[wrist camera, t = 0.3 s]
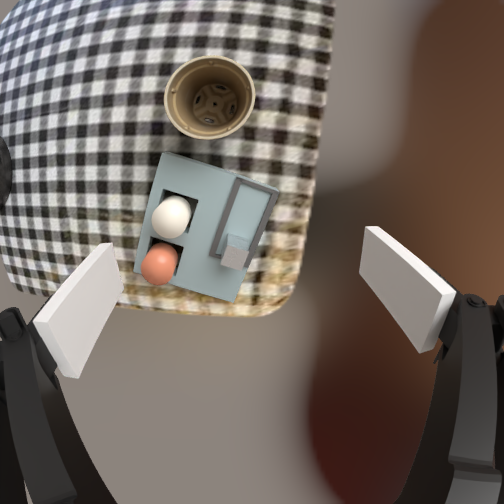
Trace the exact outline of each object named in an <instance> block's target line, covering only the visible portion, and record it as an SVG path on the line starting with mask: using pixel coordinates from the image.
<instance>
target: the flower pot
mask: <svg viewBox="0 0 504 504" xmlns="http://www.w3.org/2000/svg"><path fill="white" fill-rule="evenodd" d="M216 86H223V87H225V90H223V89H220V88H216ZM199 96H200V99H199V102H198V103H196V101H197V98H198V97H199ZM254 102H255V88H254V84H253V81H252V79H251V77H250V75H249V74H248V72H247V71H246V70H245V69H244V67H242V66H241V65H240V64H239V63H237V62H235V61H234V60H231V59H229V58H226V57H222V56H214V55H213V56H202V57H198V58H195V59H192V60H190V61H188V62H186V63H185V64H183V65H182V66H180V67H179V68H178V69H177V70H176V71H175V72H174V73H173V75H172V76H171V78H170V79H169V81H168V83H167V86H166V89H165V94H164V106H165V111H166V114H167V116H168V118H169V120H170V121H171V122H172V124H173V125H174V126H175V127H176V128H177V129H178V130H179V131H181V132H182V133H184V134H186V135H188V136H190V137H193V138H196V139H202V140H212V139H218V138H222V137H225V136H227V135H229V134H231V133H233V132H235V131H236V130H237V129H239V128H240V127H241V126H242V125H243V124H244V123H245V122H246V120H247V119H248V117H249V116H250V114H251V112H252V109H253V106H254ZM213 103H216V105H213ZM232 105H234V111H233V113H232V114H230V110H231V108H232ZM205 118H208V119H211V120H214V122H213V123H209V122H207V121H205Z"/></svg>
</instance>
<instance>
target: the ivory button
mask: <svg viewBox="0 0 504 504" xmlns="http://www.w3.org/2000/svg"><path fill="white" fill-rule="evenodd" d="M191 214H192V210H191V206H190V204H189V203H188V201H187V200H186V199H184V198H182V197H180V196H170V197H168V198H166V199H165V200H164V201H163V202H162V203H161V204H160V205H159V206H158V207H157V208H156V209H155V210H154V212H153V214H152V219H151V221H152V226H153V228H154V230H155V231H156V233H157V234H159V235H160V236H162V237H164V238H169V239H171V238H176V237H178V236H180V235H181V234H182V233H183V232H184V231H185V229H186V227H187V224H188V222H189V220H190V218H191Z"/></svg>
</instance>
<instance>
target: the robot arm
mask: <svg viewBox="0 0 504 504" xmlns="http://www.w3.org/2000/svg"><path fill="white" fill-rule="evenodd" d="M11 183H12V163H11V157H10V153H9V150H8V147H7V145H6V143H5V141H4V140H3V139H2V138H1V137H0V208H1V207H2V206H3V205H4V204H5V202H6V200H7V198H8V196H9V193H10V189H11ZM359 274H360V275H361V276H362V277H363V278H364V279H365V281H366V282H367V283H368V285H369V286H370V287H371V289H372V290H373V291H374V292H375V294H376V295H377V296H378V298H379V299H380V300H381V301H382V303H383V304H384V305H385V307H386V308H387V309H388V311H389V312H390V313H391V315H392V316H393V317H394V319H395V320H396V321H397V323H398V324H399V325H400V327H401V328H402V329H403V331H404V332H405V334H406V335H407V336H408V338H409V339H410V341H411V342H412V343H413V345H414V346H415V348H416V349H417V350H418V352H419V353H422V352H425V351H428V350H431V349H433V348H434V346H435V344H436V342H437V339H438V337H439V338H440V340H441V341H442V342H443V344H442V346H441V348H440V350H439V352H438V354H437V356H436V358H435V360H434V362H433V363H434V364H435V363H436V361H437V360H438V366H437V372H436V378H435V384H434V389H433V394H432V399H431V404H430V407H429V412H428V416H427V420H426V423H425V427H424V431H423V434H422V438H421V441H420V444H419V447H418V450H417V453H416V456H415V459H414V462H413V465H412V467H411V470H410V473H409V475H408V478H407V480H406V483H405V485H404V487H403V490H402V492H401V494H400V495H399V497H398V498H397V500H396V501H395V502H394V503H393V504H504V351H503V349H502V346H503V345H504V295H501V296H499V298H498V300H497V303H496V305H495V306H493V305H487V303H486V302H485V301H484V300H483V299H482V298H481V297H479V296H477V295H474V294H465V295H462V294H461V293H460V292H459V291H458V290H457V289H456V288H455V287H454V286H453V285H451V284H450V283H449V282H448V281H446V279H445V278H444V277H441V275H440V274H439V273H438V272H437V271H435V270H434V269H432V268H430V267H429V266H427V265H425V264H424V263H423V262H422V261H421V260H420V259H418V258H417V257H416V256H415V255H414V254H412V253H411V252H410V251H408V250H407V249H406V248H405V247H404V246H402V245H401V244H400V243H399V242H397V241H396V240H395V239H393V238H392V237H391V236H390V235H388V234H387V233H386V232H384V231H383V230H382V229H380V228H379V227H378V226H373V227H372V226H369V227H365V233H364V242H363V249H362V257H361V263H360V270H359ZM123 290H124V287H123V283H122V279H121V276H120V272H119V268H118V265H117V261H116V257H115V253H114V248H113V244H112V243H103V244H99V245H98V246H97V247H96V248H95V249H94V250H93V251H92V252H91V254H90V255H89V256H88V257H87V258H86V259H85V260H84V261H83V262H82V263H81V264H80V265H79V266H78V267H77V269H76V270H75V271H74V272H73V273H72V274H71V275H70V276H69V277H68V279H67V280H66V281H65V282H64V283H63V284H62V286H61V287H60V288H59V289H58V290H57V291H56V292H55V293H54V294H53V295H51V296H50V297H49V298H48V300H47V301H46V302H45V304H44V305H43V306H42V307H41V309H40V310H39V311H38V312H37V313H36V315H35V316H34V317H33V318H32V320H31V321H30V322H29V324H28V325H26V323H25V321H24V319H23V317H22V315H21V313H20V311H19V309H18V308H16V307H11V308H8V309H6V310H4V311H2V312H1V313H0V337H1V338H2V340H3V341H0V504H28V502H27V497H26V491H25V484H24V480H25V483H26V486H27V489H28V491H29V494H30V497H31V499H32V502H33V504H117V503H116V501H115V499H114V498H113V496H112V495H111V493H110V492H109V490H108V488H107V487H106V485H105V483H104V482H103V480H102V478H101V477H100V475H99V473H98V471H97V470H96V468H95V466H94V464H93V462H92V460H91V458H90V456H89V454H88V452H87V451H86V448H85V447H84V444H83V442H82V440H81V438H80V436H79V433H78V431H77V429H76V426H75V424H74V422H73V419H72V417H71V415H70V412H69V409H68V407H67V404H66V401H65V398H64V395H63V393H62V390H61V387H60V383H59V380H58V378H57V376H56V375H55V373H54V371H55V369H56V367H57V366H58V368H59V369H60V371H61V372H62V374H63V376H65V377H71V378H77V379H78V378H79V376H80V374H81V372H82V370H83V368H84V365H85V363H86V361H87V359H88V357H89V355H90V353H91V351H92V348H93V346H94V344H95V342H96V340H97V338H98V336H99V334H100V332H101V330H102V328H103V327H104V325H105V323H106V320H107V319H108V317H109V315H110V313H111V311H112V310H113V308H114V306H115V304H116V302H117V300H118V299H119V297H120V295H121V293H122V291H123ZM494 451H495V469H493V467H492V459H493V452H494Z"/></svg>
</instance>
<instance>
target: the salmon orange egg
mask: <svg viewBox="0 0 504 504" xmlns="http://www.w3.org/2000/svg"><path fill="white" fill-rule="evenodd" d="M177 262H178V255H177V252H176V250H175V249H174V248H173V247H172V246H170V245H169V244H166V243H157V244H155V245H153V246H152V247H151V249H150V250H149V252H148V253H147V255H146V256H145V258H144V260H143V261H142V263H141V273H142V275H143V277H144V278H145V279H146V280H147V281H148V282H150V283H152V284H154V285H163V284H166V283H168V282H169V281H170V280H171V278H172V275H173V273H174V270H175V267H176V265H177Z"/></svg>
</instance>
